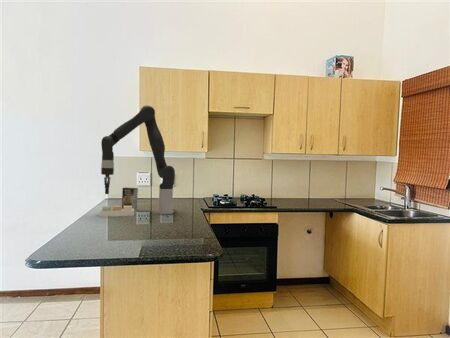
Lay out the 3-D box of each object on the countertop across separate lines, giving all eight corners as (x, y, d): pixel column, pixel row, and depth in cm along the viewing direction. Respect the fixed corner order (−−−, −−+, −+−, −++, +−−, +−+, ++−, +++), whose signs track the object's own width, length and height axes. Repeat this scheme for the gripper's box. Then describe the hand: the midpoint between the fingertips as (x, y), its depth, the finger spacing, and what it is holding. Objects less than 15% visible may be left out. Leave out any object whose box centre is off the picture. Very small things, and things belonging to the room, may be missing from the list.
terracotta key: (121, 210, 210) (121, 205, 210) (121, 211, 205) (121, 207, 205) (113, 210, 209) (113, 205, 209) (112, 211, 204) (113, 207, 204)
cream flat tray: (133, 213, 214) (133, 208, 214) (134, 215, 207) (134, 210, 207) (100, 214, 208) (100, 209, 207) (99, 216, 200) (99, 211, 200)
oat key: (131, 210, 212) (131, 205, 212) (131, 211, 208) (131, 206, 207) (123, 210, 211) (123, 205, 211) (123, 211, 206) (123, 207, 206)
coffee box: (121, 210, 225) (121, 187, 225) (126, 209, 232) (126, 187, 231) (132, 211, 223) (133, 188, 223) (137, 209, 229) (138, 187, 229)
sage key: (110, 210, 208) (111, 205, 208) (110, 211, 203) (110, 207, 203) (102, 210, 207) (102, 206, 206) (102, 212, 202) (102, 207, 202)
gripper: (113, 167, 199) (112, 195, 199) (113, 167, 211) (113, 192, 212) (100, 167, 196) (100, 195, 197) (101, 166, 209) (101, 192, 209)
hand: (106, 193), depth 204 cm, fingers closed
